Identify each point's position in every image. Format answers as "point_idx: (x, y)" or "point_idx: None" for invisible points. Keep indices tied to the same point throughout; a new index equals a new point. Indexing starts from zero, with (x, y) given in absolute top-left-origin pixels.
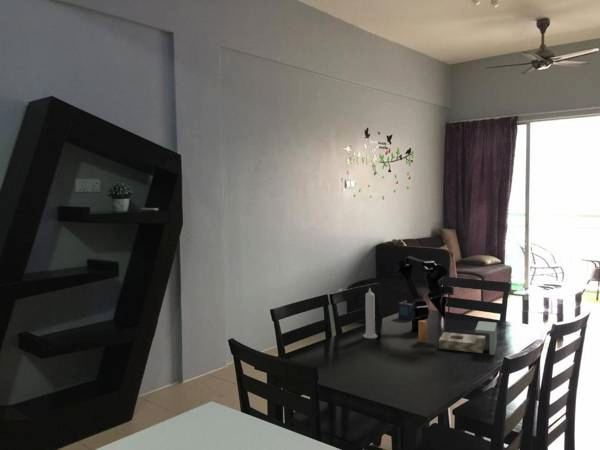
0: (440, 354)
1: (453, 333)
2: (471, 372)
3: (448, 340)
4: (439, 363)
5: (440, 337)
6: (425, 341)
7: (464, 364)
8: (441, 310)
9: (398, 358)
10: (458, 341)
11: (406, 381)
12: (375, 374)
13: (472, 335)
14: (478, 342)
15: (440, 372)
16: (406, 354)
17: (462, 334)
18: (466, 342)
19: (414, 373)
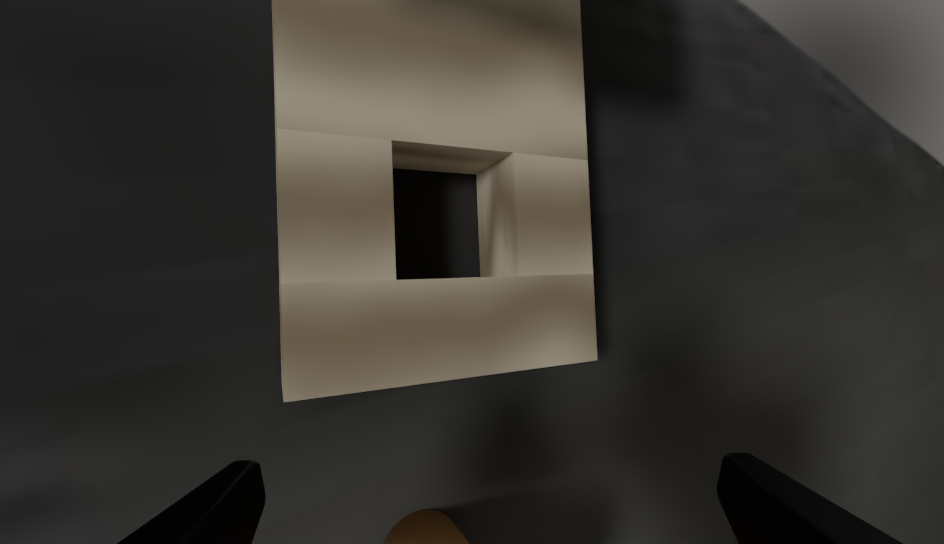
0: (658, 305)
1: (305, 270)
2: (809, 113)
3: (584, 274)
4: (773, 276)
5: (524, 369)
6: (448, 519)
7: (744, 147)
8: (798, 489)
9: None
10: (580, 183)
11: (936, 351)
12: (933, 490)
13: (308, 36)
14: (544, 5)
15: (848, 248)
16: None
17: (309, 157)
18: (580, 113)
19: (886, 350)
